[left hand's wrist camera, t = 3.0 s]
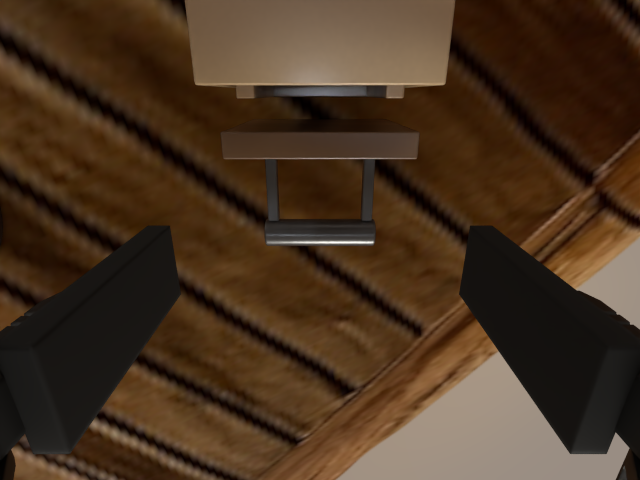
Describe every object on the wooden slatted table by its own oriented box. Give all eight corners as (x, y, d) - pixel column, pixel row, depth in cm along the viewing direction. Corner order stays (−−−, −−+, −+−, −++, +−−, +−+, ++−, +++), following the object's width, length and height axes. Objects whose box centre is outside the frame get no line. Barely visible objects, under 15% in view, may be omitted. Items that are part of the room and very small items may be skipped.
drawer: (380, 218, 27) (406, 271, 19) (259, 218, 27) (233, 271, 19) (407, -191, 19) (472, -404, 11) (232, -191, 19) (167, -404, 11)
